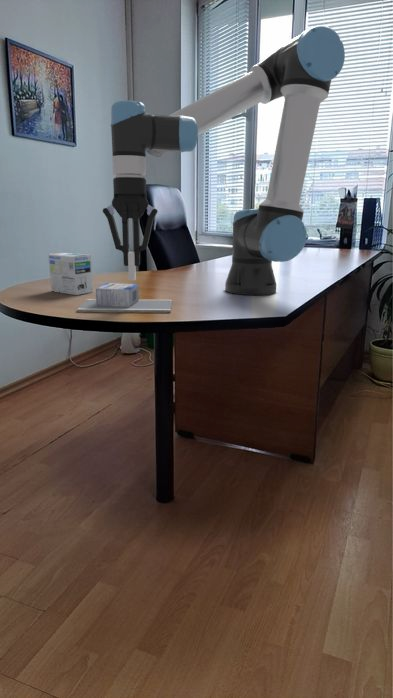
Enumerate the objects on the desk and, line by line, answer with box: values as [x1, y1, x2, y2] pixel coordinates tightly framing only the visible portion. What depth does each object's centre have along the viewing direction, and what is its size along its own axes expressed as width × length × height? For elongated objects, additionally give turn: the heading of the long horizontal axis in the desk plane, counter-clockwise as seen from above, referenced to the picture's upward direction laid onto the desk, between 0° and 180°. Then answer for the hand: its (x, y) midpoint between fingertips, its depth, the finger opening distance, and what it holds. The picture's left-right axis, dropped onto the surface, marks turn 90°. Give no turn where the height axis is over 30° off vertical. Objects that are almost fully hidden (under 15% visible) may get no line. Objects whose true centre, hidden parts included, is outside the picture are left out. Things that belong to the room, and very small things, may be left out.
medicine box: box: [95, 282, 140, 307], centre depth 119 cm, size 8×4×9 cm
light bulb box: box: [48, 252, 94, 296], centre depth 135 cm, size 11×7×11 cm, turn 58°
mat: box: [76, 298, 173, 314], centre depth 118 cm, size 22×12×1 cm, turn 91°
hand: (132, 279), depth 116 cm, fingers closed
